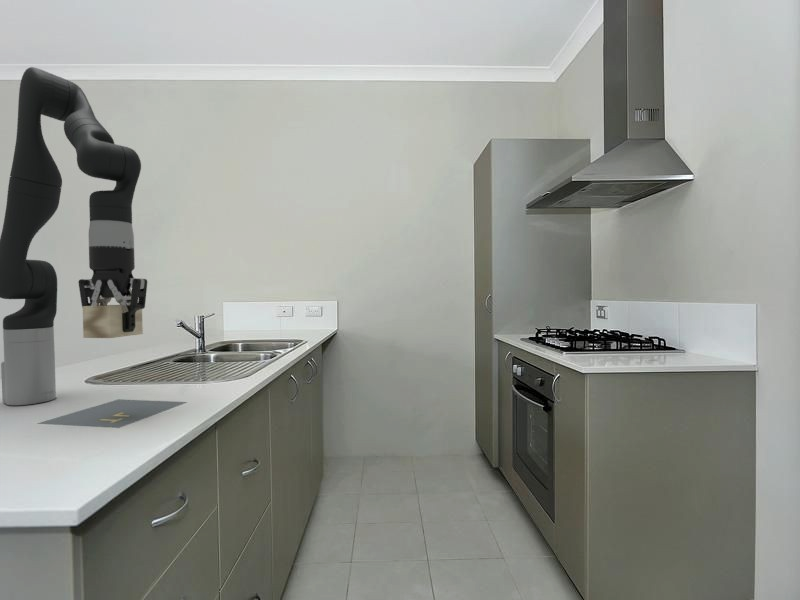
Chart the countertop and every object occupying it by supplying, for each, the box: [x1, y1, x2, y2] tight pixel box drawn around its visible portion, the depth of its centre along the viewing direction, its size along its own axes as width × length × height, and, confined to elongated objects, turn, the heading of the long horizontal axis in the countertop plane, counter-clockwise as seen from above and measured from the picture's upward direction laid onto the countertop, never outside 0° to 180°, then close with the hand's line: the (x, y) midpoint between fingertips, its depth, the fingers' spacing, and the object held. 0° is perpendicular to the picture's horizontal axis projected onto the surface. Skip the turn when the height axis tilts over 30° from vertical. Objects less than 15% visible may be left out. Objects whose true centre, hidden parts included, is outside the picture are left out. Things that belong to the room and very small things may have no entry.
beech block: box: [82, 304, 144, 339], centre depth 90 cm, size 6×8×6 cm
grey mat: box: [37, 398, 188, 429], centre depth 93 cm, size 18×19×1 cm
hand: (114, 331), depth 90 cm, fingers closed on beech block, 6 cm apart
